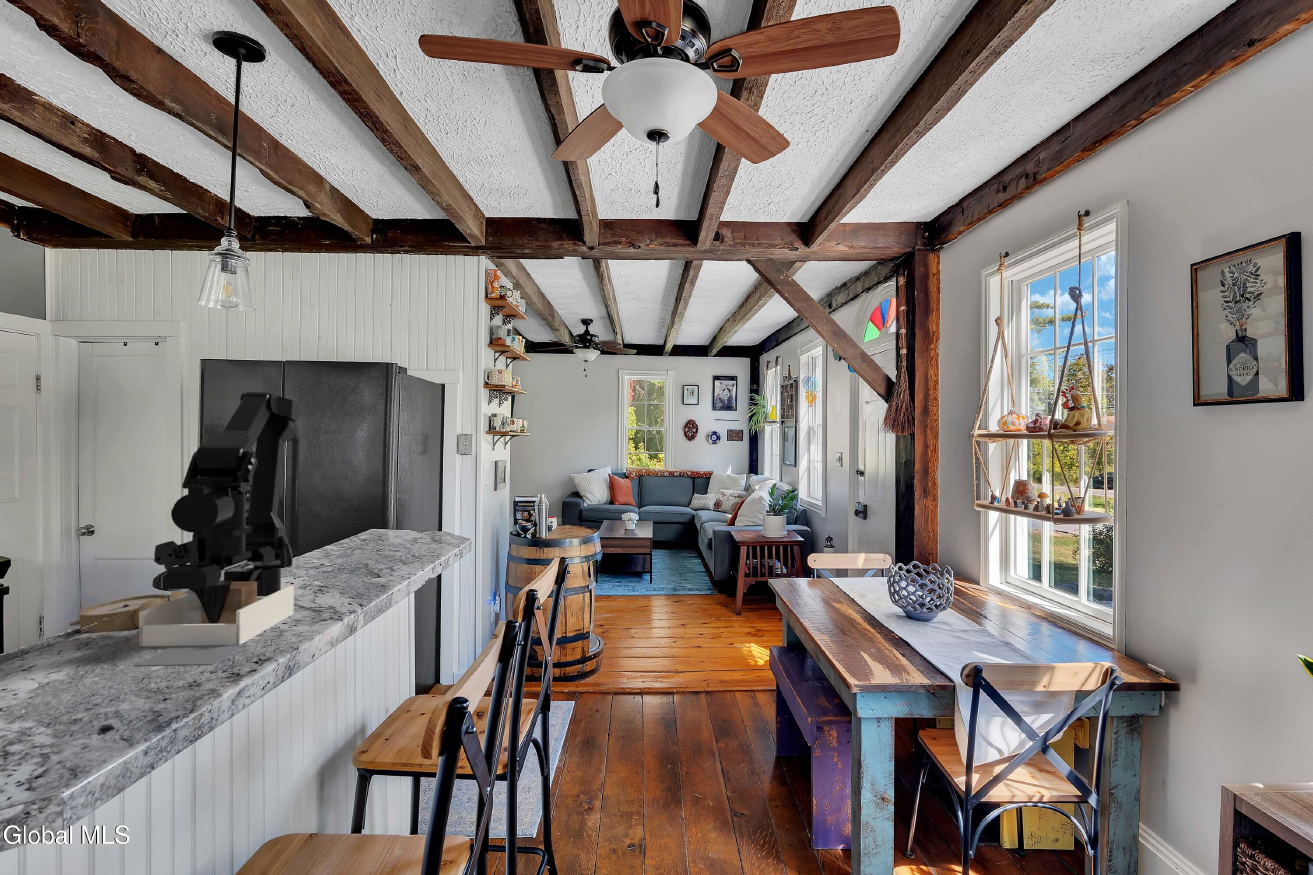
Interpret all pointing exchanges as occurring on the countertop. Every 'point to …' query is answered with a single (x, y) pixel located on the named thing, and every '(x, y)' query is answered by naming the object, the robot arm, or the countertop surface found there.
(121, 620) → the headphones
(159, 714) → the countertop surface
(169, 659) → the slate mat
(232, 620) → the walnut block
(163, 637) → the drawer
